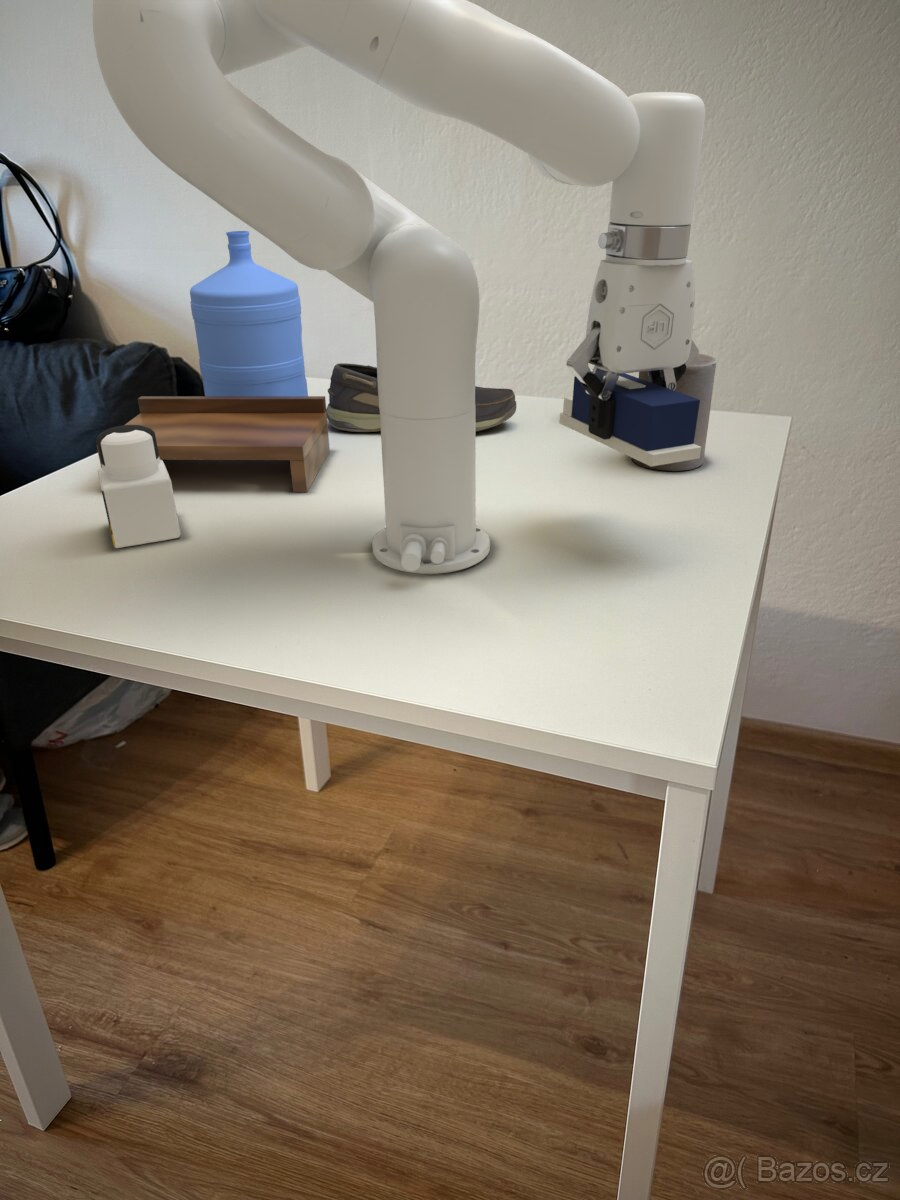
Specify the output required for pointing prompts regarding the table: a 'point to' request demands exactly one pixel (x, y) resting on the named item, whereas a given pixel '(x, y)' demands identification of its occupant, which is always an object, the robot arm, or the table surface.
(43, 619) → the table surface
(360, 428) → the boat shoe
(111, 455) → the medicine bottle
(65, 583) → the table surface
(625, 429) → the blue block on tray
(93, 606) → the table surface
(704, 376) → the pillar candle
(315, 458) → the shelf
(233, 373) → the water jug
